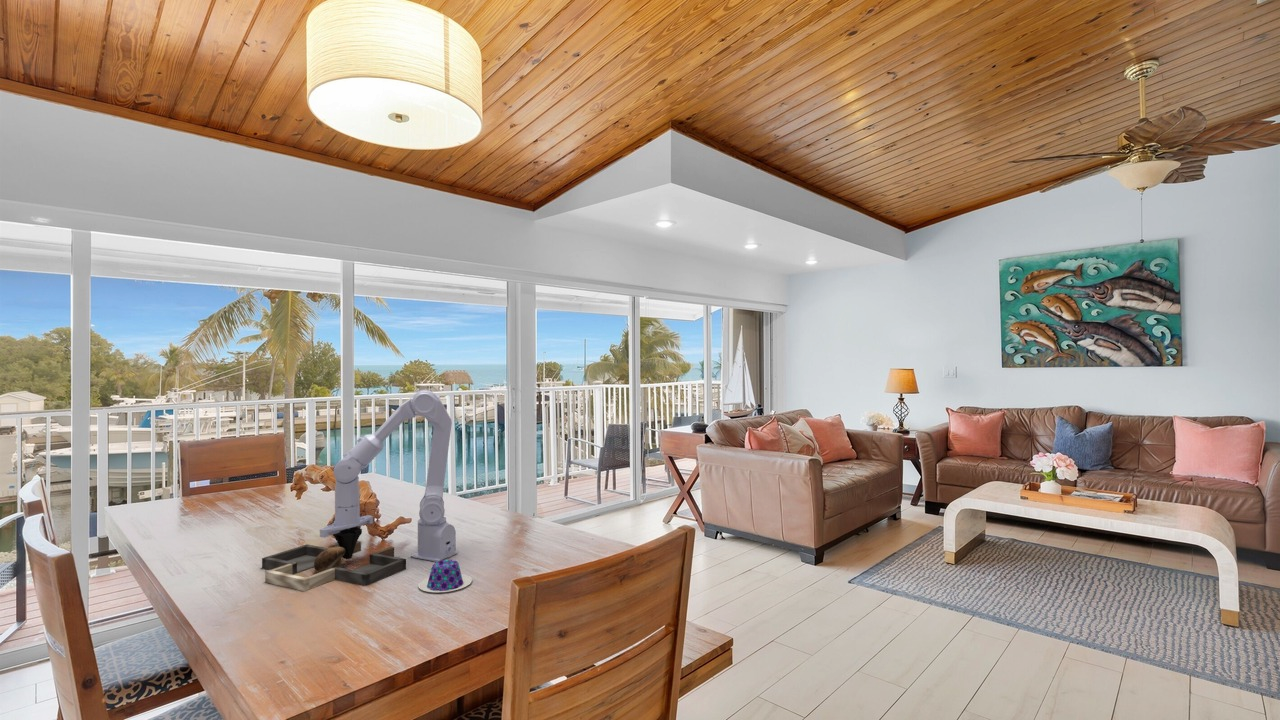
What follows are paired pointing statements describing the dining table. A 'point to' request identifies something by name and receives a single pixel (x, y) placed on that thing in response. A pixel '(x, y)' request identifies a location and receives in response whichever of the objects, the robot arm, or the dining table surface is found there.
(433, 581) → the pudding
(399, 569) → the grey brown flat frame
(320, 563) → the mushroom
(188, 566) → the dining table surface
